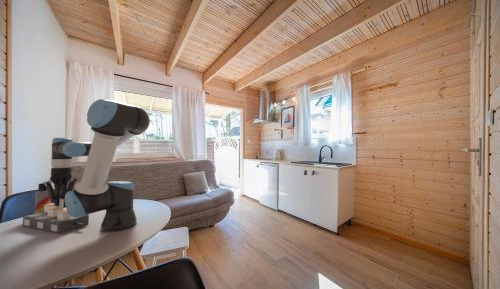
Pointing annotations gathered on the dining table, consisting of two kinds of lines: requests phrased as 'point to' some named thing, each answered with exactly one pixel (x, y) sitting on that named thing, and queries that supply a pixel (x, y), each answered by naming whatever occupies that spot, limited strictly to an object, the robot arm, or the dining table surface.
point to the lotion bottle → (41, 198)
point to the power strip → (53, 223)
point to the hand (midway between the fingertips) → (59, 211)
